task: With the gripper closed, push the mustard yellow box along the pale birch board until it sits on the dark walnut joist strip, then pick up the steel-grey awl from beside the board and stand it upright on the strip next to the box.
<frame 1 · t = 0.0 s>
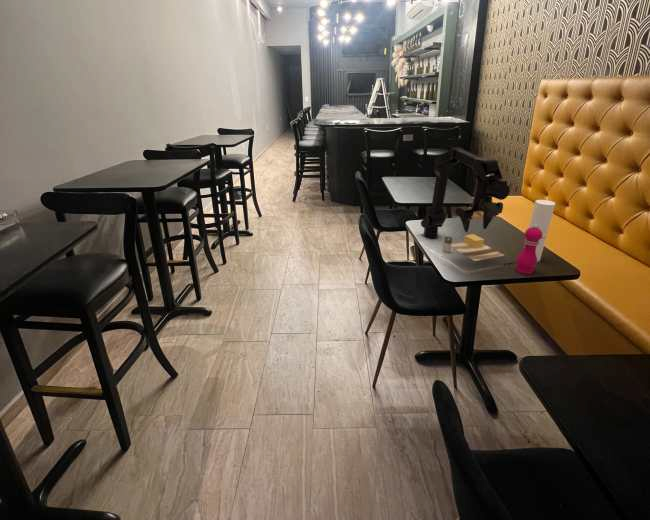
hand: (475, 230, 156), 15 cm above the table, tool pointing down, fingers open, 9 cm apart
cylindrical container: (530, 258, 167), on the table
mustard yellow box: (473, 244, 176), point 1 cm above the table, touching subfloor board
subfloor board: (474, 252, 172), on the table
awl: (446, 254, 170), on the table
pepper mill: (524, 271, 156), on the table
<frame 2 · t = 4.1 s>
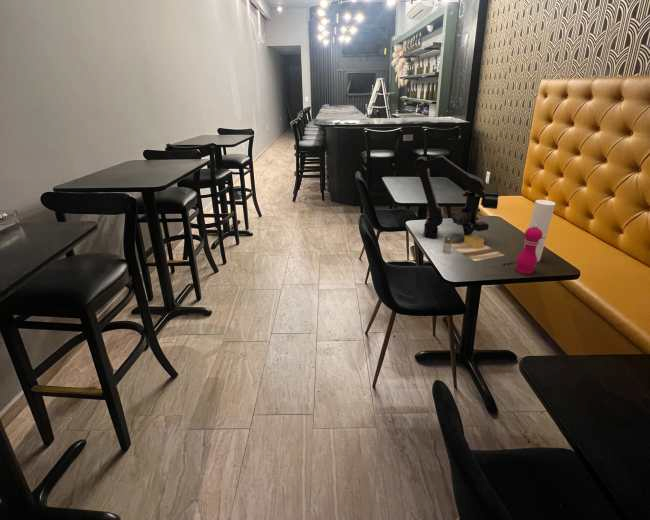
hand: (466, 238, 180), 3 cm above the table, tool pointing down, fingers closed
mustard yellow box: (473, 244, 176), point 1 cm above the table, touching gripper, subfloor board
everything else where it was.
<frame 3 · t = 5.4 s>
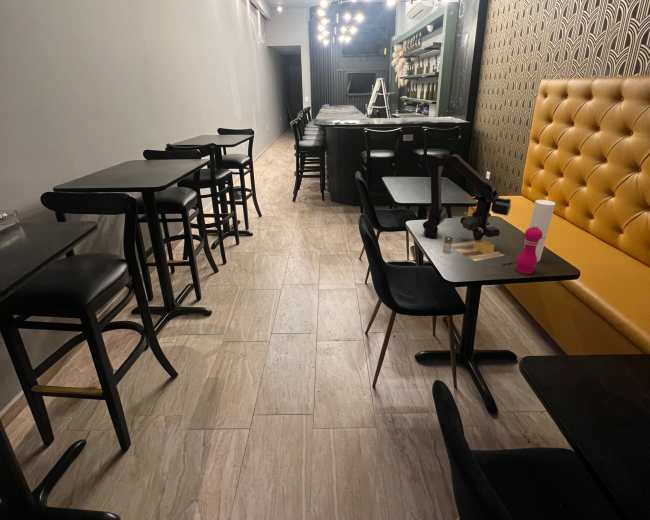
hand: (476, 243, 174), 3 cm above the table, tool pointing down, fingers closed
mustard yellow box: (482, 250, 171), point 1 cm above the table, touching gripper, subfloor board
everything else where it was.
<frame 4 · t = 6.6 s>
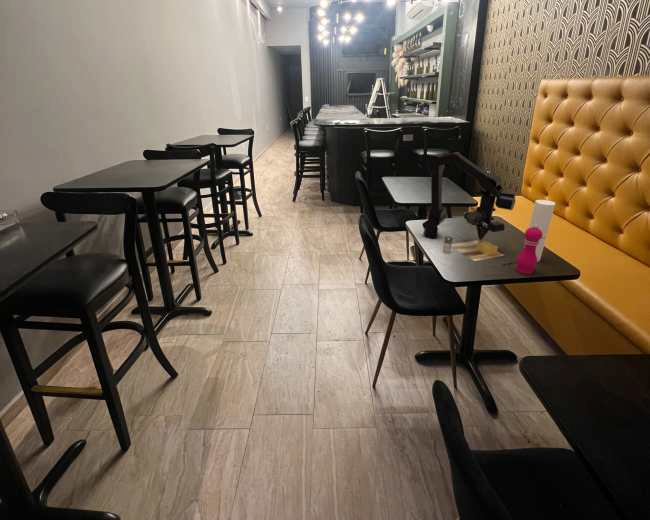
hand: (480, 239, 171), 6 cm above the table, tool pointing down, fingers closed
mustard yellow box: (486, 251, 169), point 1 cm above the table, touching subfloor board
everything else where it was.
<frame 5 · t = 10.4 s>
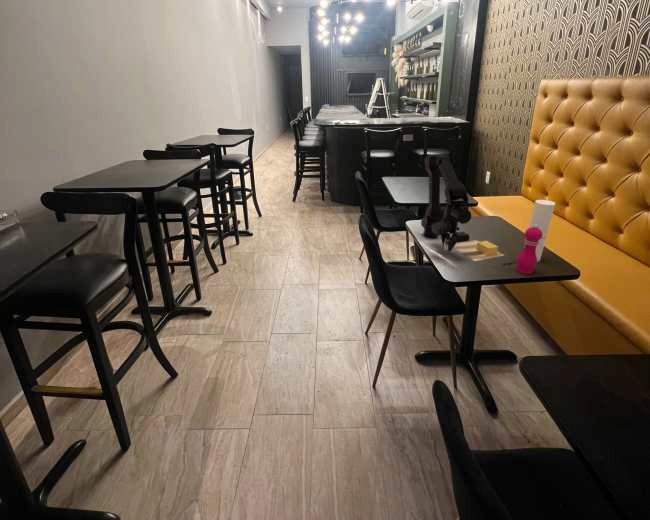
hand: (446, 249, 169), 3 cm above the table, tool pointing down, fingers closed on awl, 3 cm apart
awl: (446, 254, 170), on the table, touching gripper
everything else where it was.
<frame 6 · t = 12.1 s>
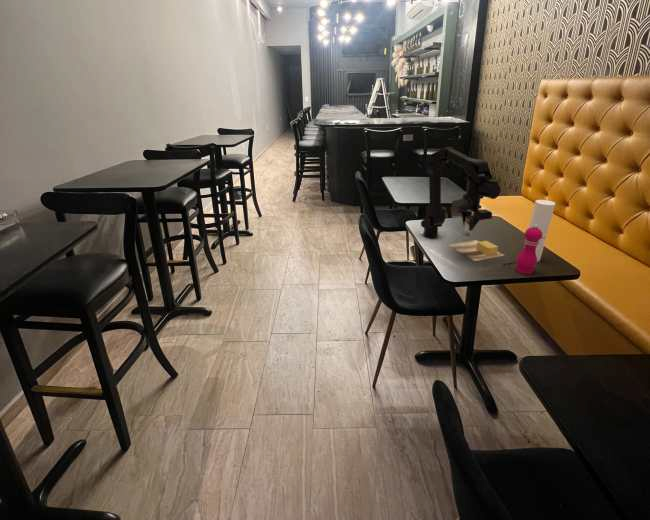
hand: (467, 229, 163), 13 cm above the table, tool pointing down, fingers closed on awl, 3 cm apart
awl: (466, 234, 164), point 10 cm above the table, touching gripper
everything else where it was.
when the fingers open (5 cm above the table, at t = 13.9 s): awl drops 1 cm, resting on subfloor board.
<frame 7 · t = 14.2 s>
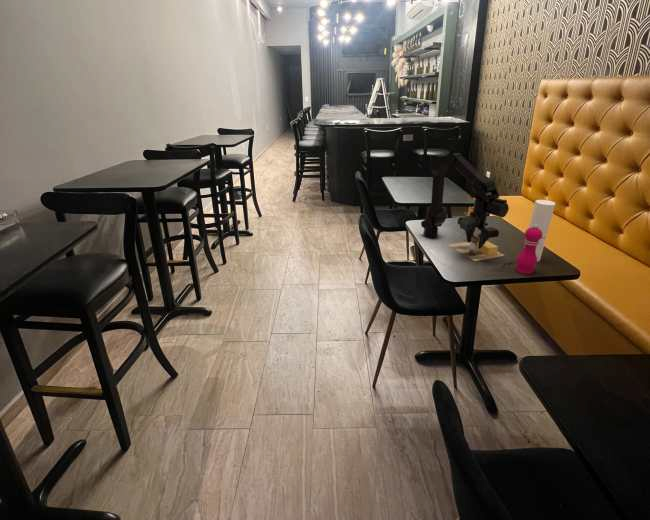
hand: (474, 245, 165), 5 cm above the table, tool pointing down, fingers open, 6 cm apart
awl: (472, 253, 167), point 2 cm above the table, touching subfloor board
everything else where it was.
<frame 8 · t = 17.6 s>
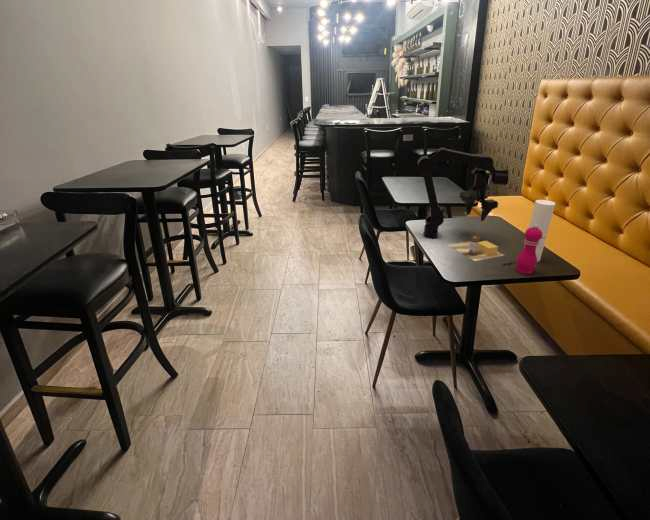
hand: (475, 217, 178), 12 cm above the table, tool pointing down, fingers open, 9 cm apart
nothing on the table moved.
at the end: mustard yellow box 0.3 cm from the target spot, point 1.5 cm above the table; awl 0.1 cm from the target spot, point 1.5 cm above the table; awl tilted 0° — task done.
